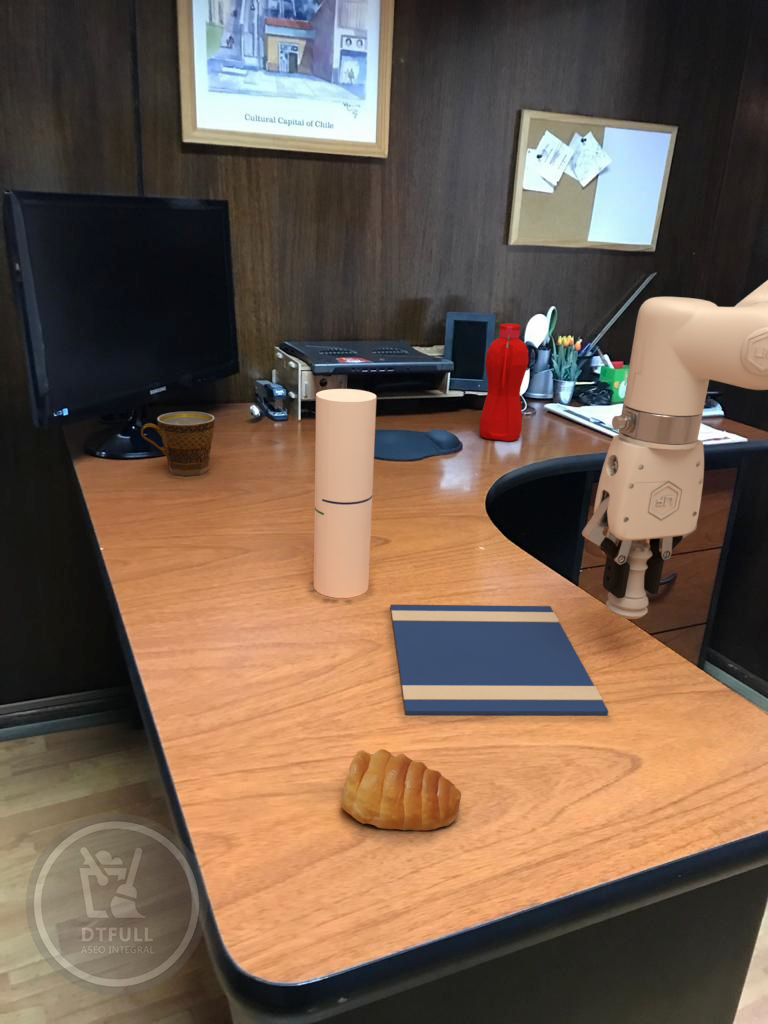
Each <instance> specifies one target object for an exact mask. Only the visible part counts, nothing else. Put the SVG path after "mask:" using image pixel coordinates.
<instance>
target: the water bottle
mask: <svg viewBox="0 0 768 1024" xmlns="http://www.w3.org/2000/svg"><path fill="white" fill-rule="evenodd" d="M498 333H499V334H498V338H496V339H494V340H492V341H491V343H490V345H489V347H488V348H487V349H486V355H485V361H484V362H485V371H486V380H487V393H486V396H485V399H484V404H483V407H482V409H481V413H480V418H479V425H478V433H479V435H480V437H481V438H483V439H486V440H492V441H503V442H515V441H516V440H518V439H519V438H520V436H521V434H522V426H523V411H522V401H521V387H522V384H523V381H524V378H525V374H526V372H527V369H528V365H529V349H528V347H527V344H526V343H525V342H524V341H523V340H522V339H520V333H521V325H520V324H518V323H512V322H506V323H505V322H504V323H500V324H499V332H498Z"/></svg>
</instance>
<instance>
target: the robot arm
mask: <svg viewBox="0 0 768 1024" xmlns="http://www.w3.org/2000/svg"><path fill="white" fill-rule="evenodd" d="M637 312H638V313H637V318H636V323H635V329H634V334H633V335H634V337H633V341H632V348H631V353H630V359H629V366H628V374H627V379H626V386H625V391H624V397H623V403H622V408H621V414H620V415H615V416H613V418H612V420H611V425H612V428H613V429H614V430H618V433H617V434H615V435H613V437H612V440H611V442H610V445H609V447H608V450H607V453H606V456H605V459H604V462H603V465H602V469H601V473H600V476H599V481H598V486H597V489H596V495H595V501H594V507H593V515H592V516H591V517H590V519H589V521H588V522H587V524H586V525H585V526H584V528H583V530H582V532H581V534H582V537H584V538H585V539H586V540H588V541H590V542H591V543H593V544H594V545H596V546H597V547H598V548H599V549H600V550H601V552H602V554H603V555H604V556H606V558H605V564H604V571H603V576H602V587H603V588H604V589H605V590H606V591H608V593H609V592H610V593H611V594H613V595H614V596H615V597H617V598H623V597H624V596H625V593H626V587H627V582H628V576H629V571H630V565H629V564H628V563H626V560H627V557H628V554H629V550H630V547H631V544H632V543H633V542H634V541H635V540H640V541H643V540H644V541H646V542H648V544H650V550H651V552H652V556H651V557H650V558H649V559H648V560H647V562H646V564H647V566H648V568H647V569H646V570H645V575H644V590H645V591H646V592H648V593H649V594H651V595H657V594H658V593H659V591H660V584H661V580H662V579H661V578H662V574H663V570H664V564H665V561H667V560H669V559H670V558H671V557H672V553H673V550H674V549H675V548H676V547H677V546H678V545H679V544H680V543H681V542H682V540H683V539H685V538H686V537H688V536H689V535H691V534H692V533H694V532H695V531H696V530H697V528H698V519H699V514H700V509H701V502H702V494H703V486H704V477H705V476H704V475H705V448H704V442H703V441H702V440H701V439H698V438H699V434H700V429H701V426H702V425H701V424H702V420H703V413H704V408H705V404H706V397H707V393H708V390H709V389H708V387H709V383H710V380H711V381H714V382H719V383H723V384H728V385H731V386H735V387H740V388H742V389H743V388H744V389H748V390H754V391H767V390H768V279H767V280H766V281H765V282H763V283H762V284H760V285H759V286H758V287H757V288H756V289H754V290H753V291H752V292H750V293H749V294H748V295H746V296H745V297H744V298H743V299H741V300H740V301H739V302H738V303H736V305H734V306H718V305H717V304H716V303H715V302H712V301H710V300H705V299H700V298H692V297H682V296H681V297H680V296H655V297H654V296H653V297H650V298H648V299H646V300H645V301H643V303H642V304H641V305H640V307H639V310H638V311H637ZM606 528H608V529H607V530H606V531H607V532H606V535H605V534H604V531H605V529H606Z"/></svg>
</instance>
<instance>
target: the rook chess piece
mask: <svg viewBox="0 0 768 1024" xmlns="http://www.w3.org/2000/svg"><path fill="white" fill-rule="evenodd" d="M651 556H652V552H651V550H650V544H648V542H646V540H644V541H643V540H642V543H641V540H634V542H632V544H631V547H630V550H629V554H628V557H627V560H626V563H628V564H629V565H630V571H629V576H628V582H627V587H626V593H625V596H624V597H623V598H617V597H615V596H614V595H613V594H611V593H610V592H609V591H608V593H607V600H606V601H605V606H606V608H607V609H608V611H609V613H611V614H613V615H614V616H616V617H618V618H622V619H627V620H638V619H641V618H643V617H644V616H646V614H647V613H648V612H649V610H648V606H649V597H648V596H647V591H646V590H645V589H644V575H645V570H646V569H647V568H648V566H647V564H646V562H647V560H648V559H649V558H650V557H651Z"/></svg>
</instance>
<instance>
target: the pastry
mask: <svg viewBox="0 0 768 1024" xmlns="http://www.w3.org/2000/svg"><path fill="white" fill-rule="evenodd" d="M348 768H349V769H348V774H347V775H346V780H345V783H344V787H343V791H342V794H341V799H340V801H339V804H340V807H341V808H342V810H344V811H345V812H346V813H347V814H348V815H350V816H351V817H352V818H353V819H355V820H356V821H357V822H359V823H361V824H362V825H364V824H368V825H373V826H375V827H376V828H378V829H385V830H386V829H387V830H401V831H404V832H406V831H413V832H416V831H430V830H436V829H439V828H443V827H449V826H450V825H451V824H452V823H454V822H455V821H456V820H457V818H458V814H459V811H460V804H461V799H462V792H461V791H460V789H459V788H457V787H456V785H455V784H454V783H453V782H452V781H451V780H450V779H448V778H446V777H445V776H443V775H442V773H441V772H440V771H439V770H435V769H430V768H429V767H428V766H427V765H426V764H425V763H424V762H423V761H414V760H413V759H411V758H410V757H408V756H407V755H405V754H404V753H399V754H396V755H393V754H392V753H391V752H389V750H386V749H383V748H381V749H379V750H377V751H376V752H374V753H369V752H367V751H365V750H363V749H360V750H358V751H357V752H356V754H355V755H354V757H352V760H351V762H350V764H349V767H348Z"/></svg>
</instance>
